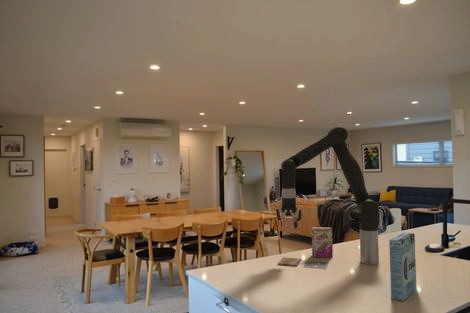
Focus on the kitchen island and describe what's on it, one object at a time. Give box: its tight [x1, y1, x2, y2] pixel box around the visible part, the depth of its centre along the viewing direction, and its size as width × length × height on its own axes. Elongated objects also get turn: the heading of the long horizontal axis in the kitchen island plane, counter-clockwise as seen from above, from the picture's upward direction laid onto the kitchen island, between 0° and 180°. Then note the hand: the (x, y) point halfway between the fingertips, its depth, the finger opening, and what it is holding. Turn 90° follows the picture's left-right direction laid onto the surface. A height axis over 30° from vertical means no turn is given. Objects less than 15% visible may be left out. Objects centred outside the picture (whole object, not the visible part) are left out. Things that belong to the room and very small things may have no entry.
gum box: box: [388, 232, 418, 302], centre depth 147 cm, size 20×5×23 cm, turn 140°
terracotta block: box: [281, 216, 298, 234], centre depth 194 cm, size 6×9×7 cm, turn 160°
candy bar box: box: [311, 226, 334, 259], centre depth 206 cm, size 11×5×16 cm, turn 84°
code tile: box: [303, 260, 329, 270], centre depth 189 cm, size 11×14×1 cm
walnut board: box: [277, 256, 302, 268], centre depth 194 cm, size 10×13×1 cm
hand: (289, 228), depth 194 cm, fingers closed on terracotta block, 6 cm apart
